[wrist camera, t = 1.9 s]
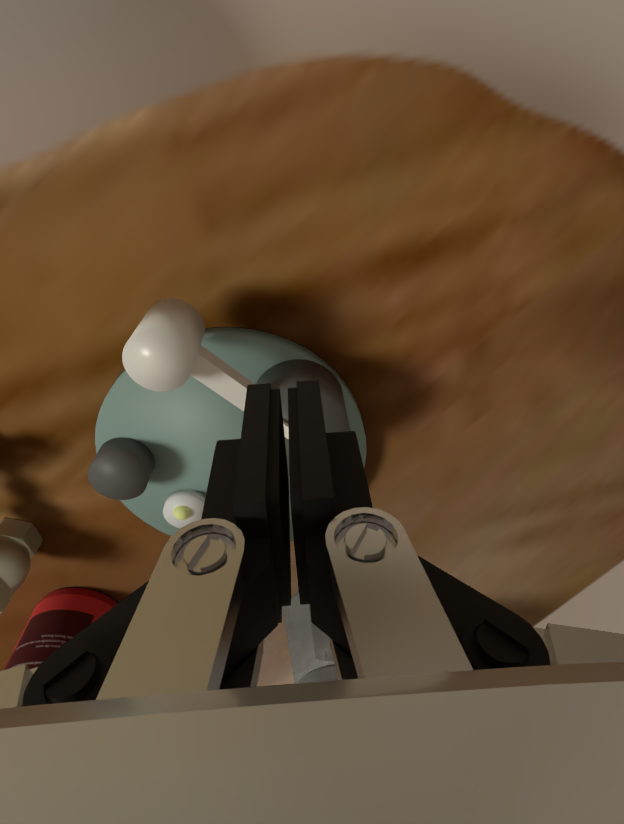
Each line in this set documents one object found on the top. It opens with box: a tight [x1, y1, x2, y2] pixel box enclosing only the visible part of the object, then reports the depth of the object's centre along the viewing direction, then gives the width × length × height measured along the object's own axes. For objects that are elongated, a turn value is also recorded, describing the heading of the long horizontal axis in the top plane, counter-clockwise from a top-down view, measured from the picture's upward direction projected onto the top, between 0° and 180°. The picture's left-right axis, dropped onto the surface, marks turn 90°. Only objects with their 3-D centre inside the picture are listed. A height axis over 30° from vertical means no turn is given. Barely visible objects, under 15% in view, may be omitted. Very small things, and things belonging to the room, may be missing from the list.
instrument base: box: [88, 327, 367, 541], centre depth 31 cm, size 18×18×4 cm
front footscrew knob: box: [122, 299, 350, 476], centre depth 25 cm, size 13×6×6 cm, turn 48°
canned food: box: [4, 588, 118, 670], centre depth 38 cm, size 8×8×11 cm
